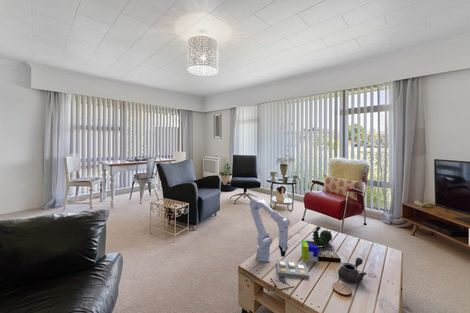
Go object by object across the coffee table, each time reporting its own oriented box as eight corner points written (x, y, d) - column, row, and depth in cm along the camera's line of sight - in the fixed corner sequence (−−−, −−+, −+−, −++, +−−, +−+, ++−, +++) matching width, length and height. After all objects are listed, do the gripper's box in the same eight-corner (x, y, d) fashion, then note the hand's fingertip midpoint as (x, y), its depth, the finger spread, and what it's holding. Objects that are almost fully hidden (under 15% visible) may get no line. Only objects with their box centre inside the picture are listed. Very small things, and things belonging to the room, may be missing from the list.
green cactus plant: (320, 254, 161) (336, 242, 176) (320, 231, 159) (336, 221, 174) (309, 249, 168) (325, 238, 184) (309, 227, 166) (325, 217, 181)
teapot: (362, 290, 119) (363, 273, 118) (334, 277, 130) (335, 262, 130) (372, 276, 131) (373, 261, 131) (346, 265, 143) (346, 251, 142)
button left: (279, 266, 138) (280, 264, 137) (279, 263, 141) (279, 261, 141) (285, 267, 137) (285, 264, 137) (285, 264, 141) (285, 261, 140)
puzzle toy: (317, 261, 148) (318, 248, 147) (303, 259, 150) (303, 246, 149) (315, 254, 157) (315, 241, 157) (301, 252, 159) (302, 240, 159)
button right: (298, 270, 136) (298, 267, 136) (297, 267, 139) (297, 264, 139) (304, 270, 135) (304, 268, 135) (303, 267, 139) (303, 265, 139)
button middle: (289, 267, 137) (289, 265, 137) (288, 264, 140) (288, 262, 140) (294, 268, 136) (294, 265, 136) (294, 265, 140) (294, 262, 140)
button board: (277, 275, 131) (277, 272, 131) (276, 262, 145) (276, 259, 145) (309, 278, 128) (309, 275, 128) (304, 265, 142) (304, 262, 142)
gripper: (290, 241, 130) (290, 262, 131) (288, 232, 144) (287, 251, 145) (279, 241, 131) (278, 261, 132) (278, 231, 145) (277, 250, 146)
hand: (282, 256), depth 139 cm, fingers closed
